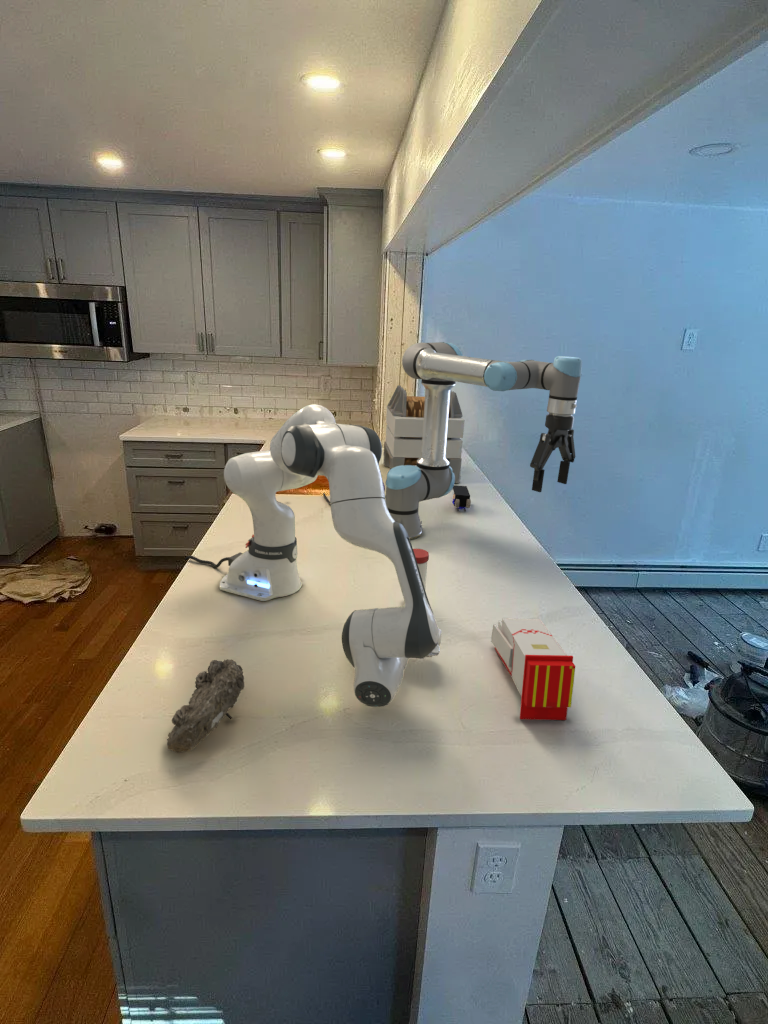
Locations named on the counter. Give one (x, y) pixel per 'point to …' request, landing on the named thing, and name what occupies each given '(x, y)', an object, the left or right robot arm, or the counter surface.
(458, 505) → the figurine character
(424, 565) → the jar
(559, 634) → the counter surface
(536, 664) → the toy
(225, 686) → the fossil
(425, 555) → the lid
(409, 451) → the white wooden crate
